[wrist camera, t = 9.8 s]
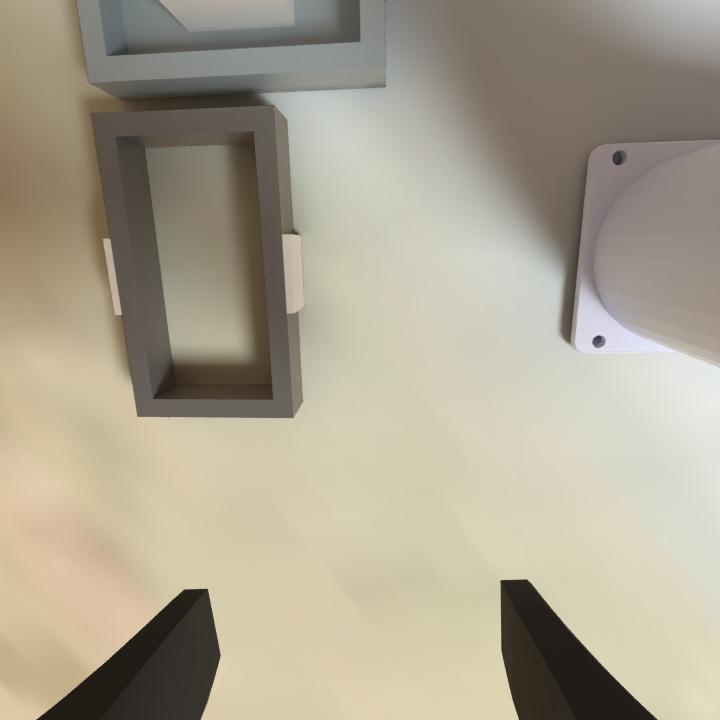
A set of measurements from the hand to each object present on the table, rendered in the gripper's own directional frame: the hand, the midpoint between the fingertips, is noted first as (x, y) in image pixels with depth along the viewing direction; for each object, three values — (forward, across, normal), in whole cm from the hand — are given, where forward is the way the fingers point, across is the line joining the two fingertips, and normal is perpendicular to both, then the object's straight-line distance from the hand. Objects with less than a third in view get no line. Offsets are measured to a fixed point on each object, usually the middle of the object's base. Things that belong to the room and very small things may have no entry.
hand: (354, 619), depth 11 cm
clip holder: (+10, +6, -8) cm, 15 cm away
